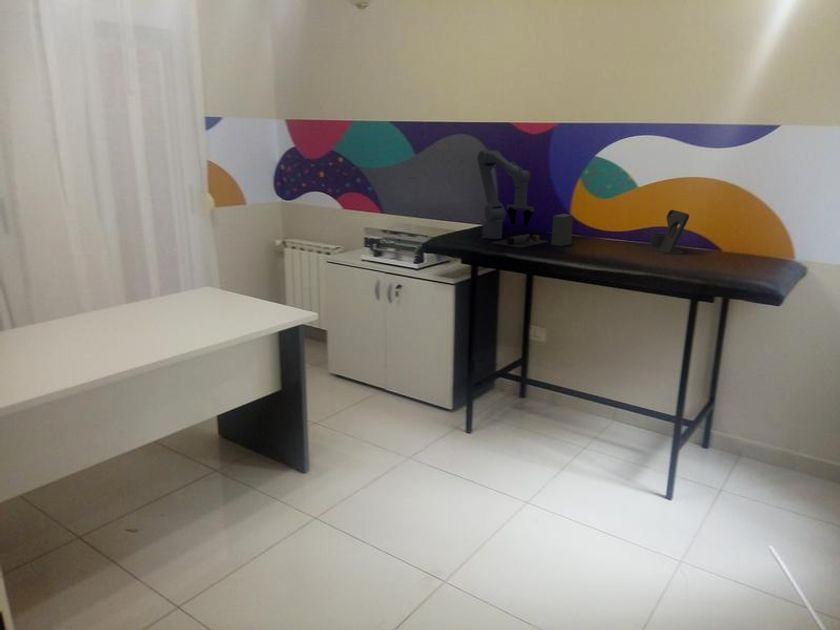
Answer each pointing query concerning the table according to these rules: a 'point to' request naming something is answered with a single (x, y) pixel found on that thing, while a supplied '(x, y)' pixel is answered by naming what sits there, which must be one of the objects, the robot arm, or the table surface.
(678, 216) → the phone holder
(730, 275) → the table surface
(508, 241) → the tongs fixed
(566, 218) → the skincare box
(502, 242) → the mat
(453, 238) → the table surface
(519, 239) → the bar
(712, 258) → the table surface
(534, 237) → the block
